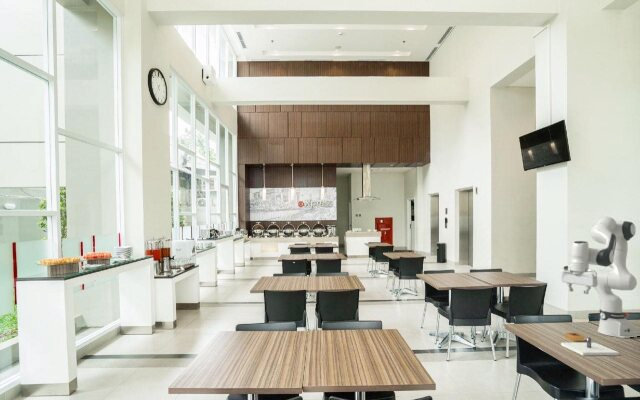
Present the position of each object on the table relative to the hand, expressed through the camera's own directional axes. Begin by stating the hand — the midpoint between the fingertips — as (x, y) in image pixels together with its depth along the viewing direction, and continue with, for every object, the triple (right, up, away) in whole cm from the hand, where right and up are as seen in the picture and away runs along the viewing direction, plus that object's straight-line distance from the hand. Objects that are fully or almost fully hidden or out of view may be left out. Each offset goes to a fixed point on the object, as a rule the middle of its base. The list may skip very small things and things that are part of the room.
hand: (578, 292), depth 222 cm
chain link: (0, -29, +4) cm, 29 cm away
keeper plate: (-4, -28, -15) cm, 32 cm away
